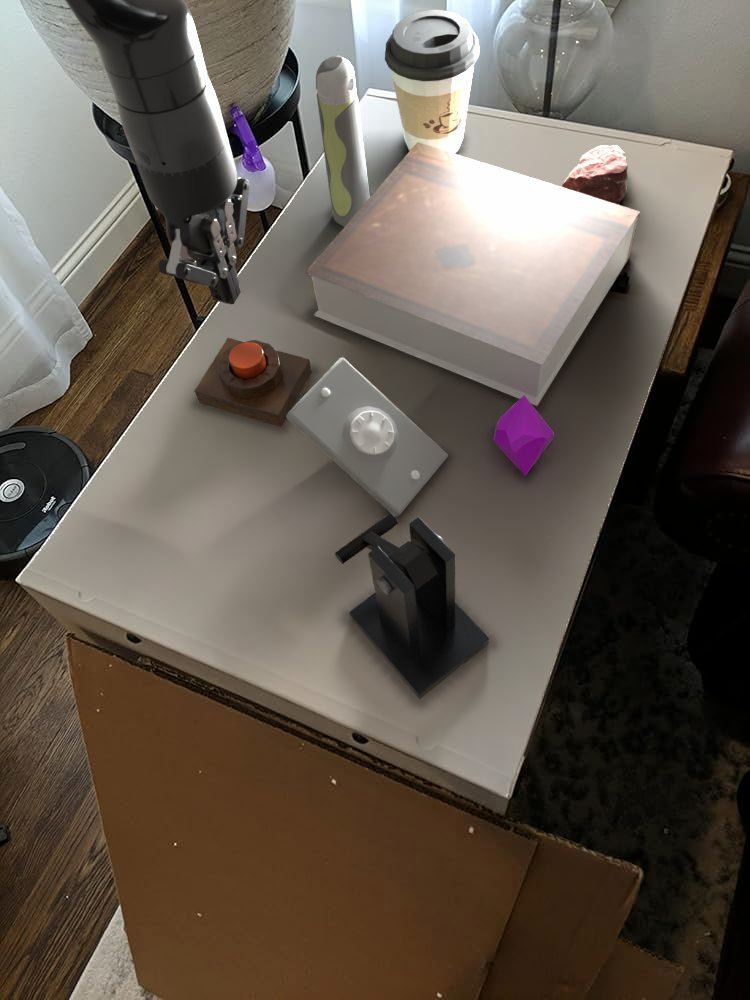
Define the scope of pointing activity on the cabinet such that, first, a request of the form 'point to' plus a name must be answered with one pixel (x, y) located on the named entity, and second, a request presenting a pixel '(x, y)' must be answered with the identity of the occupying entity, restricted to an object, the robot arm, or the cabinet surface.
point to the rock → (600, 174)
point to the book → (474, 268)
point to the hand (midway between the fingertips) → (228, 297)
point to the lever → (392, 552)
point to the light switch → (367, 436)
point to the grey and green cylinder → (342, 138)
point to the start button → (247, 360)
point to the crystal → (522, 434)
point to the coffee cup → (432, 76)
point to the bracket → (418, 617)
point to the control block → (255, 385)
